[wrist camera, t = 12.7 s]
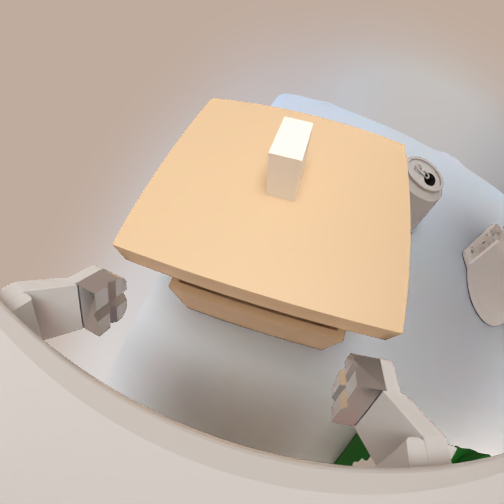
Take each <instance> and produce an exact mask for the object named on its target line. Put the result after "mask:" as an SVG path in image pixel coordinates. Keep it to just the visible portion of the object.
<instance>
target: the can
mask: <svg viewBox="0 0 504 504" xmlns="http://www.w3.org/2000/svg"><path fill="white" fill-rule="evenodd" d="M407 166H408V177H409V192H410V217H411V232H412V231H413V229H414V228H415V227H416V226H417V225H418V224H419V223H420V221H421V220H422V219H423V218H424V217H425V216H426V214H427V213H428V212H429V211H430V210H431V208H432V207H433V206H434V205H435V203H436V202H437V201H438V200H439V199H440V197H441V195H442V188H443V178H442V176H441V174H440V172H439V171H438V170H437V168H436V167H435V166H434V165H433V164H432V163H430V162H429V161H427V160H426V159H424V158H421V157H416V156H413V157H410V158H408V159H407Z"/></svg>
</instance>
